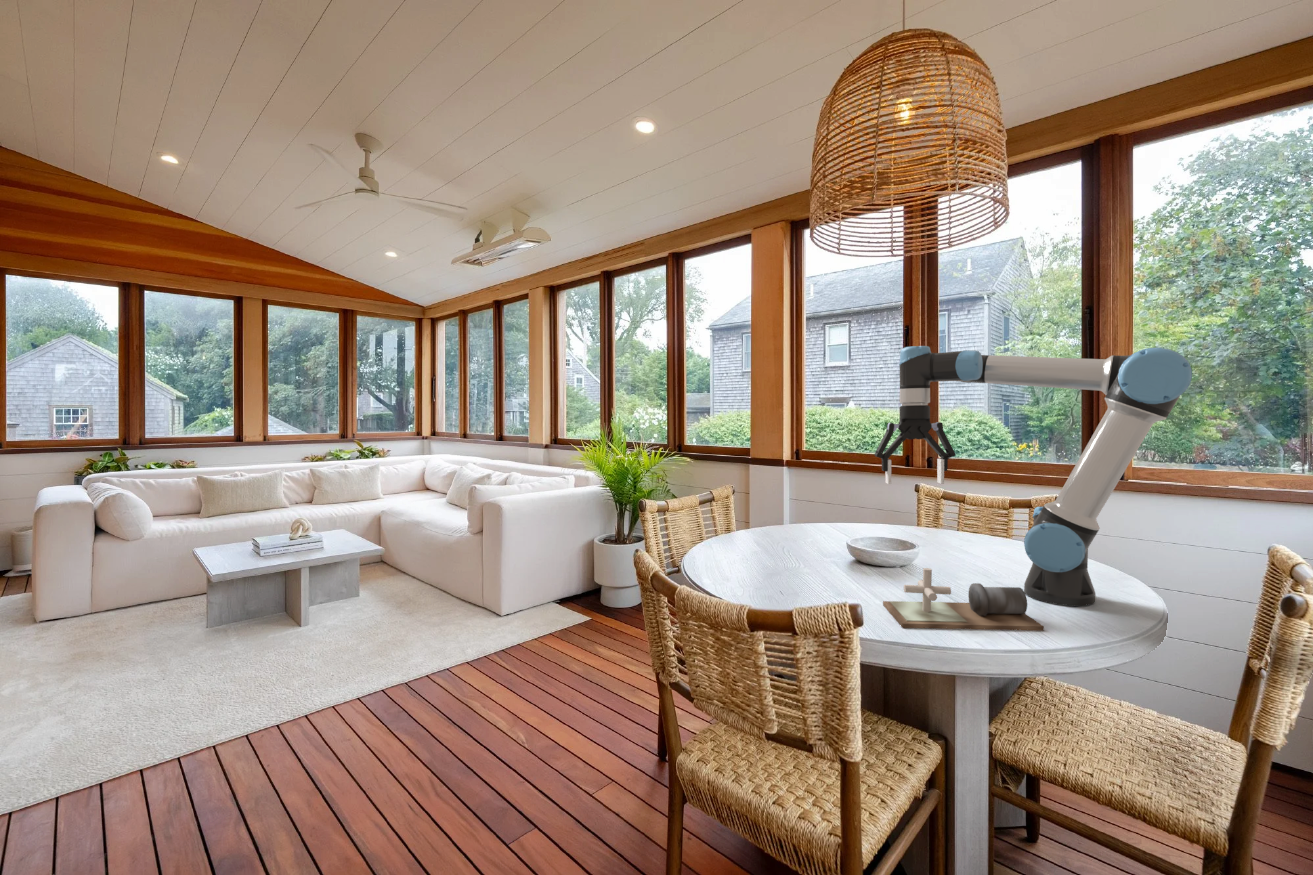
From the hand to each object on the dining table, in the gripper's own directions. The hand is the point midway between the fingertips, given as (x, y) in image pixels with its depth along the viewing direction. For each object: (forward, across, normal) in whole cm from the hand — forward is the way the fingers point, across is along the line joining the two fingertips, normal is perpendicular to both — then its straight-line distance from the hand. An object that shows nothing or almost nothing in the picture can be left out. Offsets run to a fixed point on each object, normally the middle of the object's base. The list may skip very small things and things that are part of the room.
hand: (914, 483), depth 159 cm
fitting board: (+29, -3, +22) cm, 36 cm away
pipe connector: (+28, +4, +22) cm, 35 cm away
